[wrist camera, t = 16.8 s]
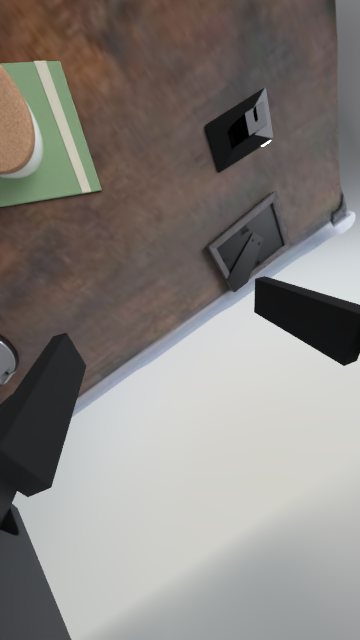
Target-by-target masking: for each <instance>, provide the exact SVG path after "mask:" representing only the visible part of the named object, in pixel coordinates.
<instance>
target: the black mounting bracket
mask: <svg viewBox="0 0 360 640" xmlns="http://www.w3.org/2000/svg"><path fill="white" fill-rule="evenodd" d="M205 130H206V133H207V137H208V140H209V143H210V146H211V150H212V153H213V156H214V160H215V163H216V166H217V170H218V172H221V171H222V170H224V169H225V168H227V167H229V166H230V165H232V164H233V163H235V162H237V161H238V160H240V159H241V158H243V157H244V156H246V155H248V154H249V153H251V152H252V151H254V150H256V149H257V148H259V147H260V146H261V147H263V146H265V145H266V144H268V143H269V142H270V141H271V139H273V133H272V126H271V119H270V113H269V106H268V100H267V93H266V88H264V89H262V90H260V91H259V92H257V93H256V94H254V95H252V96H251V97H249V98H248V99H246V100H245V101H243V102H241V103H240V104H238V105H237V106H235V107H233V108H232V109H230V110H229V111H227V112H225V113H224V114H222V115H221V116H219V117H218V118H216V119H214V120H213V121H211V122H210V123H208V124H206V126H205Z"/></svg>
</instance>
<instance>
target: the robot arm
mask: <svg viewBox="0 0 360 640" xmlns="http://www.w3.org/2000/svg"><path fill="white" fill-rule="evenodd" d="M254 312H255V313H257V314H258V315H260V316H262V317H263V318H265V319H267V320H268V321H270V322H272V323H274V324H275V325H277V326H278V327H280V328H282V329H283V330H285V331H287V332H288V333H290V334H292V335H293V336H295V337H297V338H298V339H300V340H302V341H303V342H305V343H307V344H308V345H310V346H312V347H313V348H315V349H317V350H318V351H320V352H322V353H323V354H325V355H327V356H328V357H330V358H332V359H334V360H335V361H337V362H338V363H340V364H342V365H343V366H345V365H347V364H350V363H352V362H355V361H357V359H358V356H359V354H360V305H358V304H355V303H352V302H349V301H345V300H342V299H338V298H335V297H332V296H328V295H325V294H322V293H318V292H315V291H312V290H308V289H305V288H302V287H298V286H295V285H292V284H288V283H285V282H282V281H278V280H275V279H272V278H268V277H265V276H264V277H260V278H257V279H255V308H254ZM18 362H19V359H18V354H17V351H16V350H15V348H14V347H13V345H12V344H11V343H10V342H9V341H8V340H7V339H6V338H4V337H3V336H1V335H0V385H1V384H3V383H4V384H5V383H6V382H8V381H9V379H10V378H11V376H12V375H13V374H14V372H15V370H16V369H17V366H18ZM85 369H86V364H85V363H84V361H83V359H82V358H81V356H80V354H79V353H78V351H77V349H76V348H75V346H74V344H73V343H72V341H71V339H70V338H69V336H68V334H67V333H64V334H60V335H57V336H53V338H52V339H51V340H50V342H49V343H48V345H47V346H46V348H45V349H44V350H43V352H42V353H41V355H40V356H39V358H38V359H37V360H36V362H35V363H34V365H33V366H32V368H31V369H30V370H29V372H28V373H27V375H26V376H25V378H24V379H23V381H22V382H21V383H20V385H19V386H18V388H17V389H16V391H15V392H14V393H13V395H10V396H9V397H8V398H7V399H6V400H5V401H4V402H3V403H2V404H1V405H0V640H71V638H70V636H69V633H68V631H67V628H66V626H65V623H64V621H63V618H62V616H61V614H60V611H59V609H58V606H57V604H56V601H55V599H54V596H53V594H52V592H51V589H50V587H49V584H48V582H47V580H46V577H45V575H44V572H43V570H42V567H41V565H40V562H39V560H38V557H37V555H36V552H35V550H34V548H33V545H32V543H31V540H30V538H29V535H28V533H27V531H26V528H25V526H24V523H23V521H22V518H21V516H20V513H19V511H18V509H17V508H16V507H15V506H14V505H13V504H12V501H13V499H14V497H15V494H16V492H17V491H19V492H20V493H22V494H23V495H25V496H27V497H29V496H32V495H34V494H36V493H39V492H41V491H44V490H46V489H49V488H51V486H52V483H53V479H54V476H55V472H56V469H57V465H58V462H59V459H60V455H61V452H62V448H63V445H64V441H65V438H66V434H67V431H68V427H69V424H70V421H71V417H72V414H73V410H74V407H75V403H76V400H77V397H78V393H79V390H80V386H81V383H82V379H83V376H84V372H85Z"/></svg>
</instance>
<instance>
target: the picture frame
mask: <svg viewBox="0 0 360 640" xmlns="http://www.w3.org/2000/svg"><path fill="white" fill-rule="evenodd" d="M289 247H291V243H290V239H289V236H288V232H287V229H286V225H285V222H284V218H283V215H282V211H281V208H280V204H279V201H278V197H277V194H276V191H275V192H272V193H270V194H269V195H267V196H266V197H265V198H264V199H263V200H261V201H260V202H259V203H258V204H256V205H255V206H254V207H253V208H252V209H250V210H249V211H248V212H247V213H246V214H244V215H243V216H242V217H241V218H240V219H238V220H237V221H236V222H235V223H233V224H232V225H231V226H230V227H229V228H227V229H226V230H225V231H224V232H223V233H221V234H220V235H219V236H218V237H217V238H215V239H214V240H213V241H212V242H211V243H209V244H208V245H207V246H206V248H207V249H208V251H209V253H210V255H211V256H212V258H213V260H214V262H215V263H216V265H217V267H218V269H219V270H220V272H221V274H222V276H223V278H224V279H225V281H226V283H227V285H228V286H229V288H230V290H231V291H233V292H236V291H237V290H238V289H240V288H241V287H242V286H243V285H245V284H246V283H247V282H248V280H249V279H251V278H252V277H253V276H254V275H256V274H257V273H258V272H259V271H261V270H262V269H263V268H264V267H266V266H267V265H268V264H269V263H271V262H272V261H273V260H274V259H276V258H277V257H278V256H279V255H281V254H282V253H283V252H284V251H286V250H287V249H288V248H289Z"/></svg>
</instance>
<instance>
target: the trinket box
mask: <svg viewBox="0 0 360 640" xmlns="http://www.w3.org/2000/svg"><path fill="white" fill-rule="evenodd" d="M42 157H43V140H42V136H41V132H40V129H39V126H38V123H37V121H36V119H35V117H34V115H33V113H32V111H31V109H30V107H29V105H28V103H27V102H26V100H25V99H24V97H23V95H22V94H21V92H20V90H19V89H18V87H17V86H16V84H15V82H14V81H13V80H12V78H11V77H10V76H9V74H8V73H7V72H6V70H5V69H4V68H3V67H2V65H1V64H0V177H3V178H11V179H16V178H24V177H27V176H29V175H31V174H33V173H34V172H35V171H36V170H37V169H38V167H39V166H40V164H41V161H42Z"/></svg>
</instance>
